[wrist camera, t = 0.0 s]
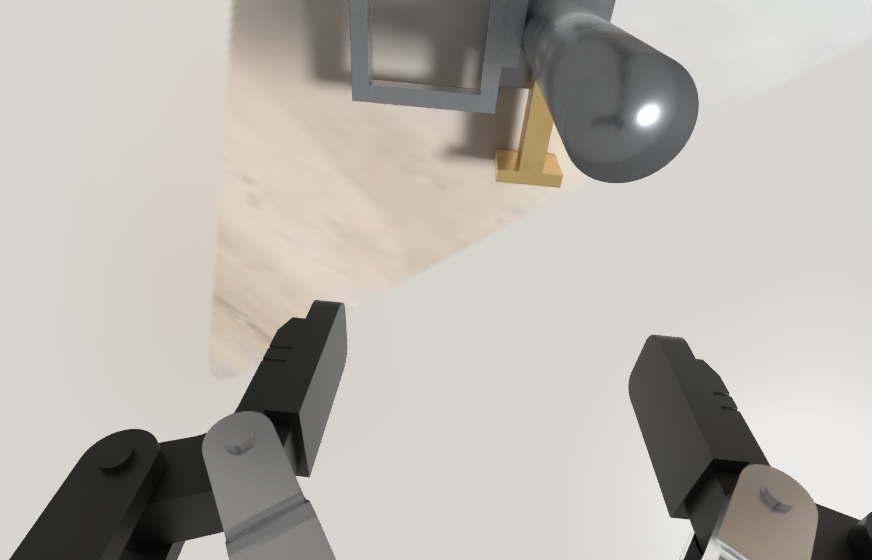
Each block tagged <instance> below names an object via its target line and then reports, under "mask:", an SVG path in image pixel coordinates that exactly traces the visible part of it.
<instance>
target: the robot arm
mask: <svg viewBox="0 0 872 560" xmlns="http://www.w3.org/2000/svg"><path fill="white" fill-rule="evenodd" d="M346 355H347V334H346V317H345V306H344V303H340V302H330V301H320V300H315V301H314V302H313V304H312V306H311V308H310V310H309V312H308V315H307V317H306V319H303V318H294V317H293V318H291V319H290V320H289V321H288V322H287V323H285V324H284V325H283V326H282V327H281V328H280V329H278V331H277V332H276V334H275V336H274V338H273V340H272V342H271V344H270V348H268V350H267V352H266V354H265V356H264V357H263V361H261V363H260V365H259V367H258V369H257V371H256V373H255V375H254V377H253V379H252V381H251V383H250V385H249V386H248V388H247V390H246V393H245V394H244V396H243V398H242V400H241V402H240V404H239V406H238V408H237V409H236V411H235V412H234V414H231V415H229V416H226V417H224V418H223V419H221V420H220V421H218V422H217V423H216V424H215V425H213V427H212V428H211V429H210V430H209V431H208V433H205V434H202V435H199V436H195V437H190V438H184V439H178V440H173V441H167V442H162V443H158V442H157V440H156V438H155V437H154V436H153V435H152V434H151V433H149V432H148V431H145V430H140V429H129V430H123V431H119V432H116V433H113V434H111V435H109V436H107V437H105V438H103V439H101V440H100V441H98V442H96V443H95V444H94V445H93V446H91V447H90V448H89V449H88V450H87V451H86V452H85V453H84V455H83V456H82V457H81V458H80V460H79V461H78V463H77V464H76V466H75V467H74V468H73V470H72V471H71V473H70V474H69V475H68V477H67V478H66V480H65V481H64V483H63V484H62V486H61V487H60V488H59V490H58V491H57V493H56V494H55V495H54V497H53V498H52V500H51V501H50V502H49V504H48V506H47V507H46V508H45V510H44V511H43V512H42V514H41V515H40V517H39V518H38V520H37V521H36V522H35V524H34V525H33V527H32V528H31V530H30V531H29V532H28V534H27V535H26V537H25V538H24V540H23V541H22V542H21V544H20V545H19V547H18V548H17V550H16V551H15V552H14V554H13V555H12V557H11V558H10V559H9V560H177V559H178V556H179V554H180V552H181V549H182V547H183V545H184V542H185V541H186V540H190V539H195V538H199V537H203V536H207V535H212V534H216V533H220V532H224V533H225V537H226V548H227V553H228V556H229V560H336V559H335V556H334V554H333V552H332V549H331V547H330V545H329V543H328V540H327V538H326V536H325V533H324V531H323V529H322V527H321V524H320V522H319V520H318V518H317V515H316V513H315V511H314V509H313V507H312V505H311V503H310V501H309V500H306V499H305V497H304V495H303V493H302V491H301V488H300V486H299V484H298V482H297V479H296V476H303V477H310V474H311V471H312V467H313V465H314V462H315V458H316V455H317V452H318V449H319V446H320V443H321V439H322V436H323V433H324V430H325V426H326V423H327V420H328V417H329V414H330V411H331V408H332V405H333V401H334V398H335V395H336V391H337V389H338V386H339V382H340V379H341V376H342V372H343V370H344V366H345V362H346ZM629 396H630V399H631V403H632V405H633V408H634V411H635V414H636V417H637V420H638V423H639V426H640V429H641V432H642V435H643V438H644V441H645V444H646V447H647V450H648V453H649V456H650V459H651V462H652V465H653V468H654V470H655V473H656V476H657V480H658V483H659V485H660V488H661V491H662V494H663V497H664V500H665V503H666V506H667V509H668V512H669V515H670V517H672V518H681V519H690V521H691V524H692V527H693V529H694V530H693V531H692V533H691V534H690V535H689V537H688V539H687V542H686V544H685V547H684V549H683V551H682V554H681V556H680V559H679V560H872V512H871V513H869V514H868V515H867V516H866V517H864V518H863V519H862V520H858V519H856V518H853V517H850V516H848V515H845V514H842V513H839V512H837V511H834V510H832V509H829V508H826V507H824V506H821V505H818V504H816V503H814V501H813V499H812V498H811V496H810V495H809V494H808V492H807V491H806V490H805V489H804V488H803V487H802V486H801V485H800V484H799V483H798V482H797V481H796V480H794V479H793V478H792V477H790V476H789V475H787V474H785V473H784V472H782V471H779V470H778V469H775V468H772V467H771V466H770V465H769V463H768V461H767V459H766V457H765V456H764V454H763V452H762V450H761V449H760V447H759V445H758V443H757V441H756V440H755V438H754V436H753V435H752V433H751V431H750V429H749V427H748V426H747V424H746V422H745V420H744V418H743V417H742V415H741V413H740V412H739V411H737V406H736V404H735V402H734V401H733V399H732V397H729V392H728V390H727V388H726V386H725V385H724V383H723V381H722V379H721V377H720V376H719V375H718V374H717V373H716V372H715V371H714V370H713V369H712V368H711V367H710V366H709V365H708V364H707V363H706V362H704V361H703V360H699V359H695V357H694V355H693V353H692V351H691V350H690V347H689V346H688V344H687V342H686V341H685V340H684V339H683V338H680V337H670V336H660V335H651V336H649V338H648V339H647V340H646V343H645V344H644V347H643V349H642V351H641V353H640V355H639V357H638V360H637V362H636V364H635V366H634V368H633V370H632V373H631V375H630V379H629Z"/></svg>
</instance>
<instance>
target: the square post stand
mask: <svg viewBox="0 0 872 560" xmlns="http://www.w3.org/2000/svg"><path fill="white" fill-rule="evenodd" d="M614 4H615V0H491V6H490V14H489V22H488V30H487V39H486V47H485V55H484V63H483V72H482V80H481V88H480V89H469V88H458V87H447V86H436V85H426V84H415V83H404V82H393V81H382V80H373V55H372V0H349V13H350V42H351V71H352V99H353V101H361V102H372V103H383V104H393V105H404V106H415V107H425V108H436V109H447V110H458V111H468V112H479V113H490V114H495V109H496V102H497V95H498V88H499V86H504V87H515V88H526V89H529V93H528V99H527V104H526V110H525V115H524V121H523V126H522V132H521V137H520V143H519V148H518V151H511V150H501V149H496V152H495V159H494V163H495V176H496V182H506V183H517V184H527V185H537V186H548V187H558V188H560V185H561V181H562V177H563V175H562V172H561V169H560V167H559V164H558V161H557V159H556V156H555V155H553V154H546V153H547V149H548V144H549V139H550V135H551V130H552V126H553V121H554V123H555V126H556V128H557V130H558V132H559V135H560V137H561V139H562V142H563V144H564V146H565V149H566V151H567V153H568V155H569V157H570V159H571V161H572V162H573V163H574V165H575V166H576V167H577V168H578V169H579V170H580V171H581V172H583V173H584V174H586V175H587V176H589V177H591V178H593V179H595V180H599V181H602V182H608V183H625V182H631V181H635V180H639V179H642V178H644V177H647V176H649V175H651V174H653V173H655V172H657V171H658V170H660V169H661V168H663V167H664V166H666V165H667V164H668V163H669V162H670V161H671V160H673V159H674V158H675V157H676V156H677V154H678V153H679V152H680V151H681V150H682V148H683V147H684V146H685V144H686V143H687V141H688V139H689V138H690V136H691V134H692V132H693V129H694V126H695V123H696V120H697V115H698V105H699V102H698V93H697V89H696V86H695V83H694V81H693V79H692V77H691V76H690V74H689V73H688V71H687V70H686V69H685V68H684V67H683V66H682V65H681V64H679V63H678V62H677V61H675V60H673V59H672V58H670V57H668V56H666V55H665V54H663V53H661V52H660V51H658V50H656V49H654V48H653V47H651V46H649V45H647V44H646V43H644V42H642V41H641V40H639V39H637V38H635V37H634V36H632V35H630V34H629V33H627V32H625V31H623V30H622V29H620V28H618V27H616V26H615V25H613V24H611V23H610V20H611V16H612V12H613V8H614Z"/></svg>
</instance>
